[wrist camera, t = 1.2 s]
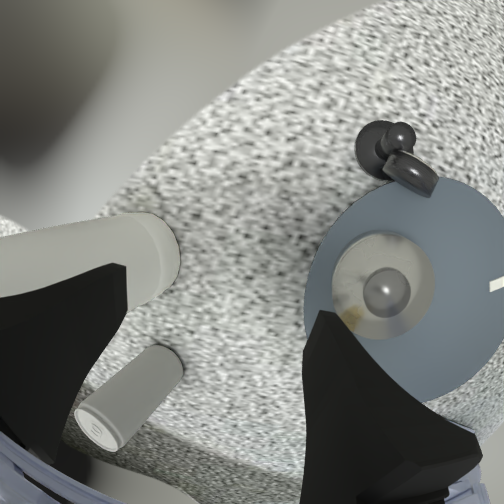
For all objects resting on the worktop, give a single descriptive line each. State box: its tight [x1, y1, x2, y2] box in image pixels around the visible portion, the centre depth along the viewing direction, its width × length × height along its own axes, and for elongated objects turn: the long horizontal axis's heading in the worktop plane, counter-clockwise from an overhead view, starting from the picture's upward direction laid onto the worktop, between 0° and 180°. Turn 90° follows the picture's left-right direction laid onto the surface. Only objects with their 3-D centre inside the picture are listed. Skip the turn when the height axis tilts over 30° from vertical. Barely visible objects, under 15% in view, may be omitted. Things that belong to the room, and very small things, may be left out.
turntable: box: [304, 177, 504, 403], centre depth 16 cm, size 18×18×5 cm
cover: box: [332, 230, 435, 340], centre depth 16 cm, size 6×6×3 cm
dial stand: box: [355, 120, 439, 198], centre depth 15 cm, size 5×4×7 cm
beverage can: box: [74, 345, 183, 452], centre depth 22 cm, size 5×5×12 cm
